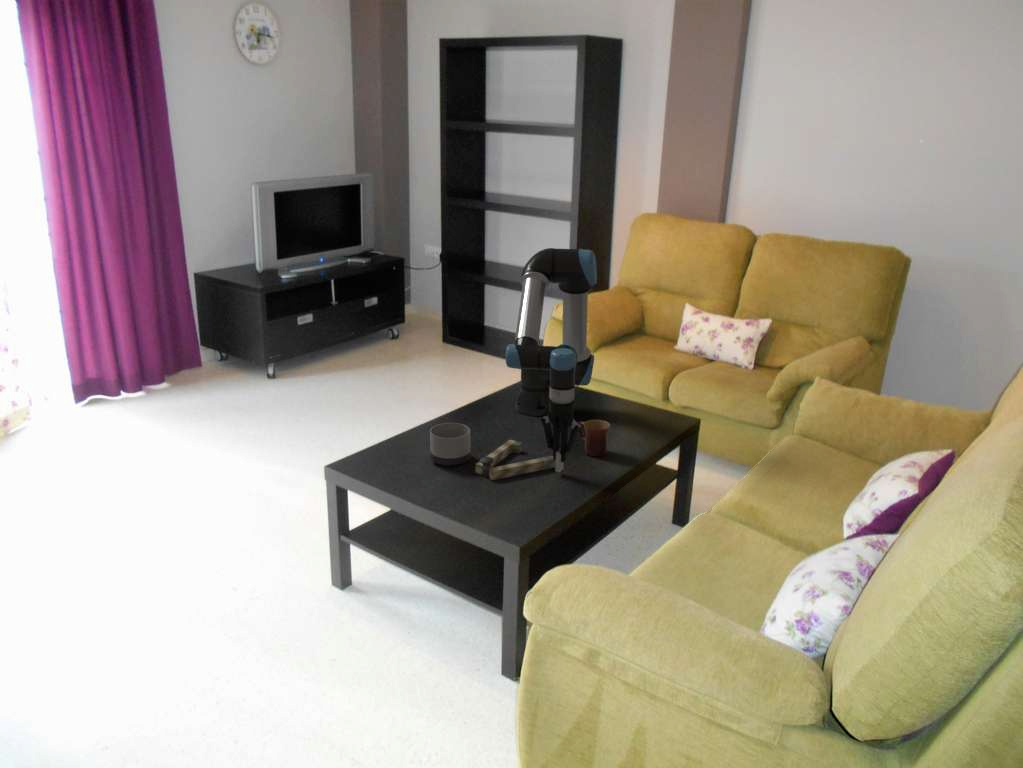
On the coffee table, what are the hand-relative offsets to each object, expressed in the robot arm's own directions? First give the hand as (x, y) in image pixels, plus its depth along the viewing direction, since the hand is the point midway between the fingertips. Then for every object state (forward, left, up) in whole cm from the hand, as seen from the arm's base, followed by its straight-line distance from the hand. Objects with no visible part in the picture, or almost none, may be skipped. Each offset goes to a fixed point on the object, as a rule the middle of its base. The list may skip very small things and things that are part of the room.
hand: (559, 470), depth 261 cm
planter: (+8, -35, -2) cm, 36 cm away
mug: (-21, +2, -2) cm, 21 cm away
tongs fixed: (+2, -20, -2) cm, 20 cm away
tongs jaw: (+5, -11, -1) cm, 12 cm away
